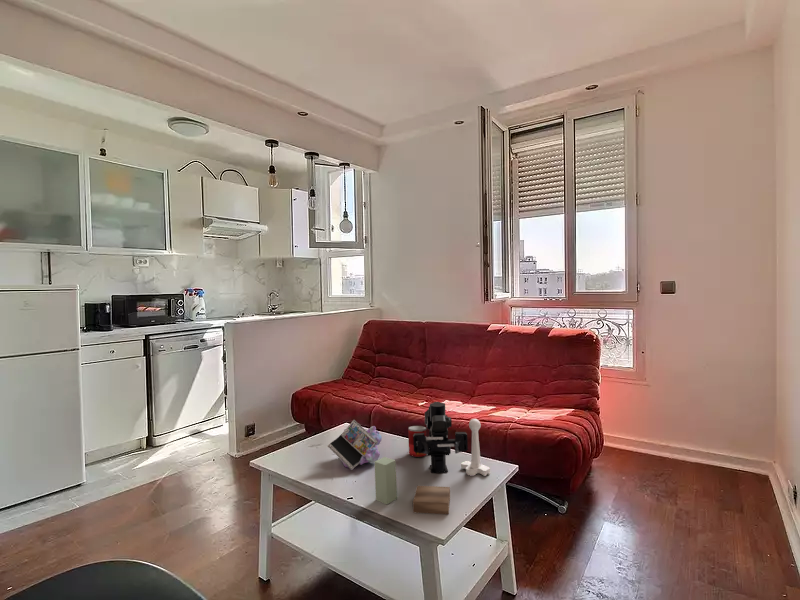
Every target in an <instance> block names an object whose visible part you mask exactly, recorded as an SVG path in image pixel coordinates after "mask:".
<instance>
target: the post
mask: <svg viewBox="0 0 800 600" xmlns="http://www.w3.org/2000/svg"><path fill="white" fill-rule="evenodd" d="M396 467H397V466H396V460H395V459H393V458H389V457H387V456H383V457H382V458H378V460H377V461H375V462H374V482H375V484H374V487H375V489H374V490H375V500H376V501H377V502H380V503H382V504H385V505H389V504H390V503H392V502H394V501H396V500H397V499H398V491H397V468H396Z"/></svg>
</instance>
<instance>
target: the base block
mask: <svg viewBox="0 0 800 600" xmlns="http://www.w3.org/2000/svg"><path fill="white" fill-rule="evenodd" d="M414 493H415V494H414V497H413V501H412V510H413V513H414V514H433V515H434V514H438V515H449V514H450V505H451V504H450V502H451V487H450V486H438V485H437V486H434V485H433V486H432V485H430V486H429V485H417V486H416V489H415V492H414Z"/></svg>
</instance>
